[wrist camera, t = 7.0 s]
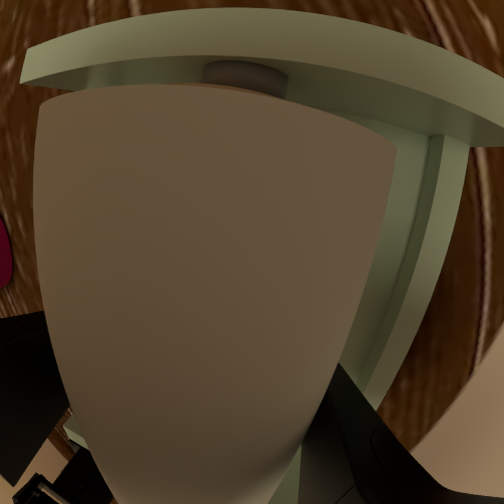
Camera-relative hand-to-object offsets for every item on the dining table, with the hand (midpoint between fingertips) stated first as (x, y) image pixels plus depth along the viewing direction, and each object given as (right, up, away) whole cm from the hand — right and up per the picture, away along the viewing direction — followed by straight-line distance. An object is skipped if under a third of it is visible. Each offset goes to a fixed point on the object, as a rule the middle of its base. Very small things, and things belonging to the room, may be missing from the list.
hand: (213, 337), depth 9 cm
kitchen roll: (0, -1, -2) cm, 2 cm away
